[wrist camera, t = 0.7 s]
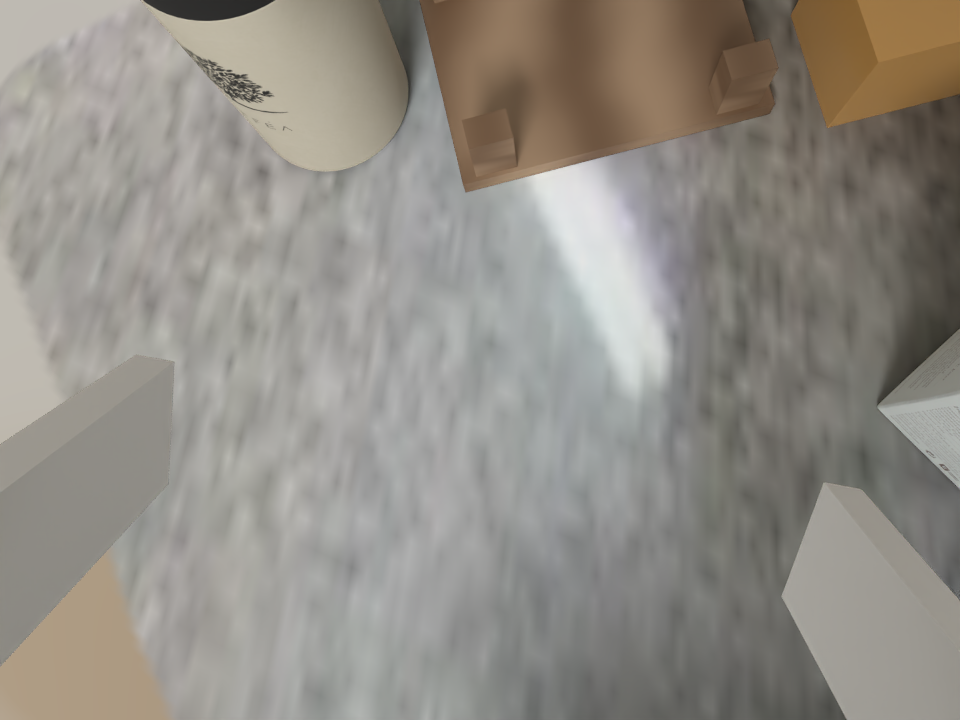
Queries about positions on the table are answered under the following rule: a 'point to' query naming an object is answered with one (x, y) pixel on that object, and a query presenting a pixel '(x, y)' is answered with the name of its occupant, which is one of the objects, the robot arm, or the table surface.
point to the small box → (931, 408)
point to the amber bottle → (879, 54)
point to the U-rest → (589, 77)
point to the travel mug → (299, 71)
